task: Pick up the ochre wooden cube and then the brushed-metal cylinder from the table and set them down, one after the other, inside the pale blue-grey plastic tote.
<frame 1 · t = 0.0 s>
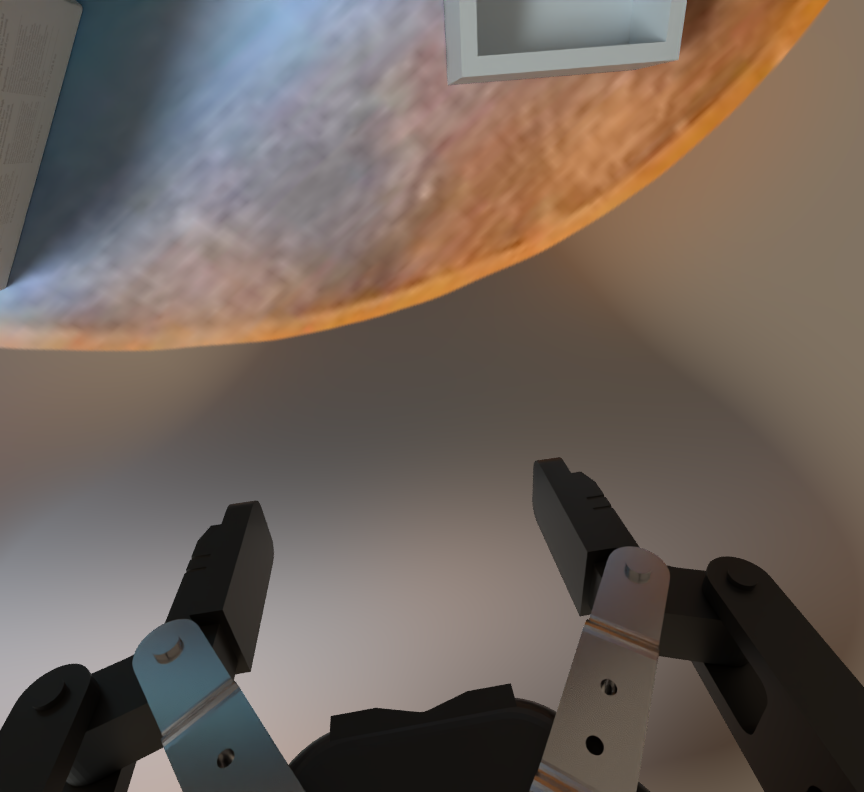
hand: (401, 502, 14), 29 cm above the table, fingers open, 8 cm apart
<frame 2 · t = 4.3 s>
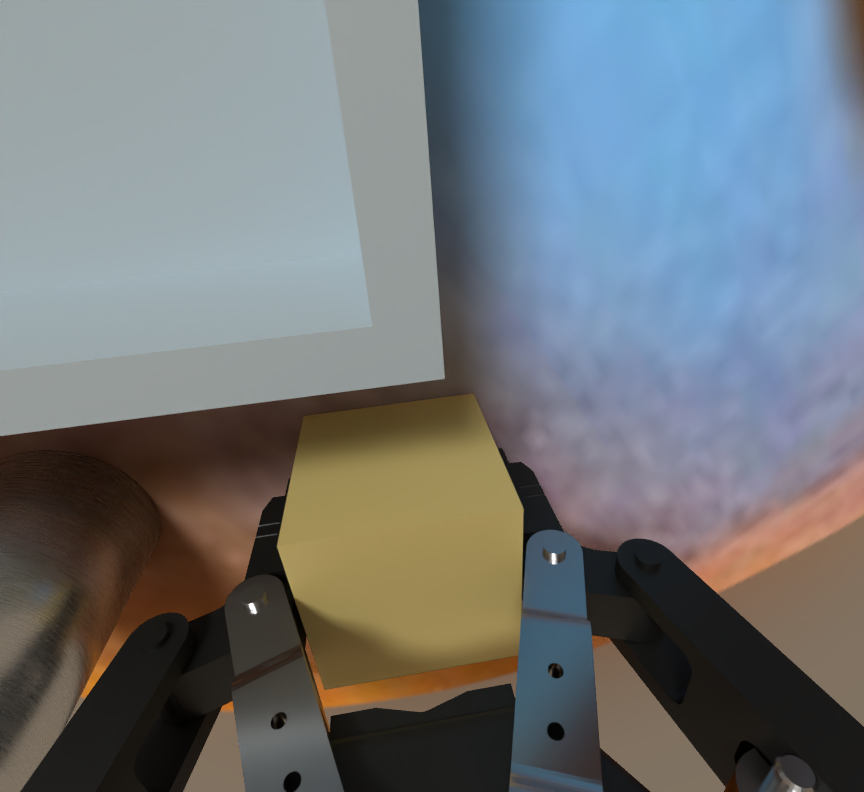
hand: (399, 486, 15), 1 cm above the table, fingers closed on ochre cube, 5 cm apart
ochre cube: (399, 472, 15), on the table, touching gripper
metal cylinder: (70, 518, 14), on the table
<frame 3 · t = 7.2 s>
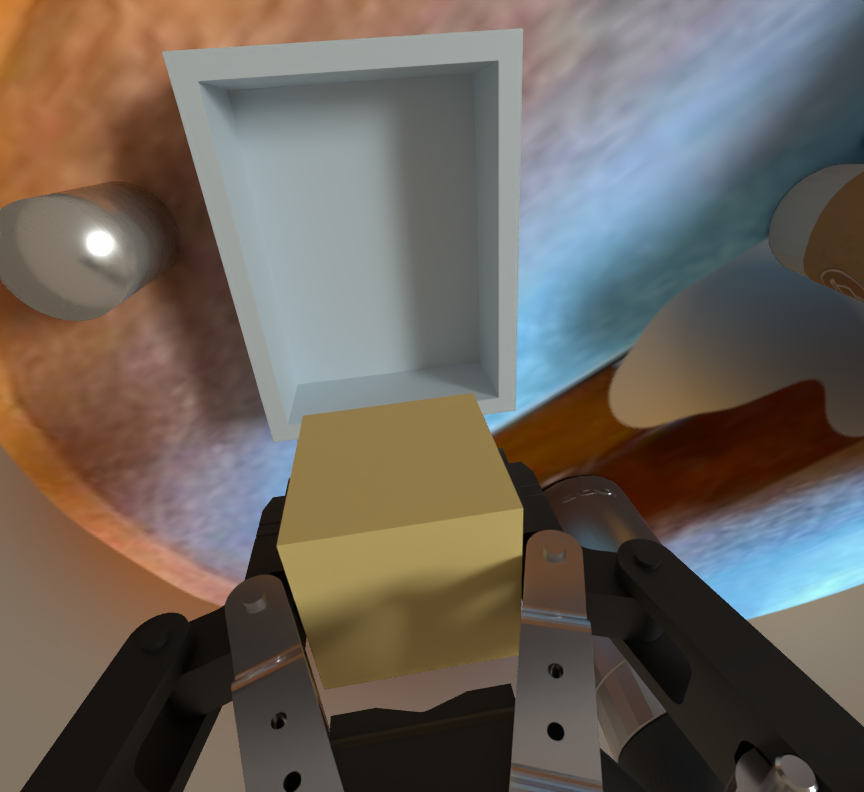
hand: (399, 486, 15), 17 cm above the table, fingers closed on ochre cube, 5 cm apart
ochre cube: (398, 471, 15), point 17 cm above the table, touching gripper
tote: (374, 246, 28), on the table
coffee cup: (809, 218, 31), on the table
metal cylinder: (129, 232, 26), on the table
when the fingers open (3 cm above the table, at t = 10.3 s): ochre cube drops 2 cm, resting on tote.
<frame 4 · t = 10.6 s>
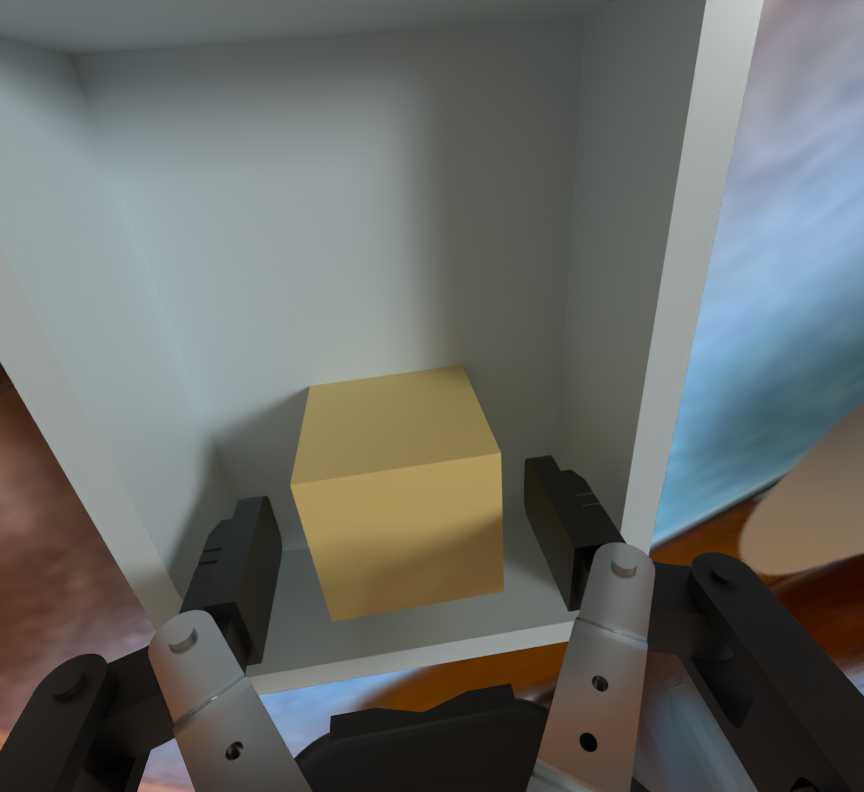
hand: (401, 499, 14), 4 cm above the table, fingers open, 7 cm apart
ochre cube: (396, 438, 17), point 1 cm above the table, touching tote
tote: (381, 341, 16), on the table
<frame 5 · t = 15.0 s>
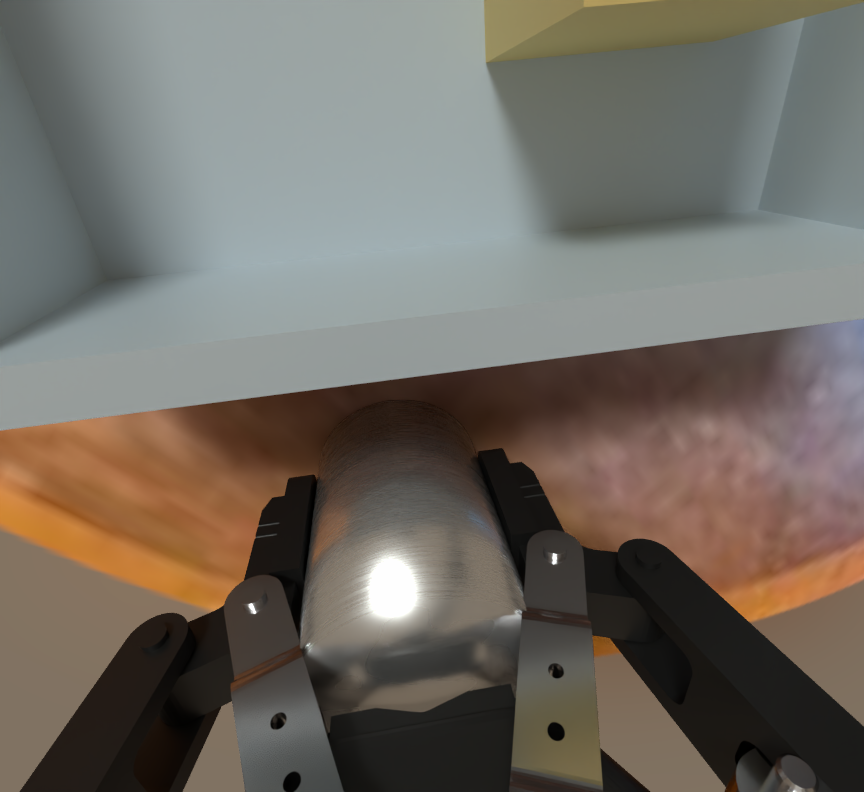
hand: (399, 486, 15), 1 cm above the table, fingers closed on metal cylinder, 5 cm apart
metal cylinder: (398, 467, 15), on the table, touching gripper
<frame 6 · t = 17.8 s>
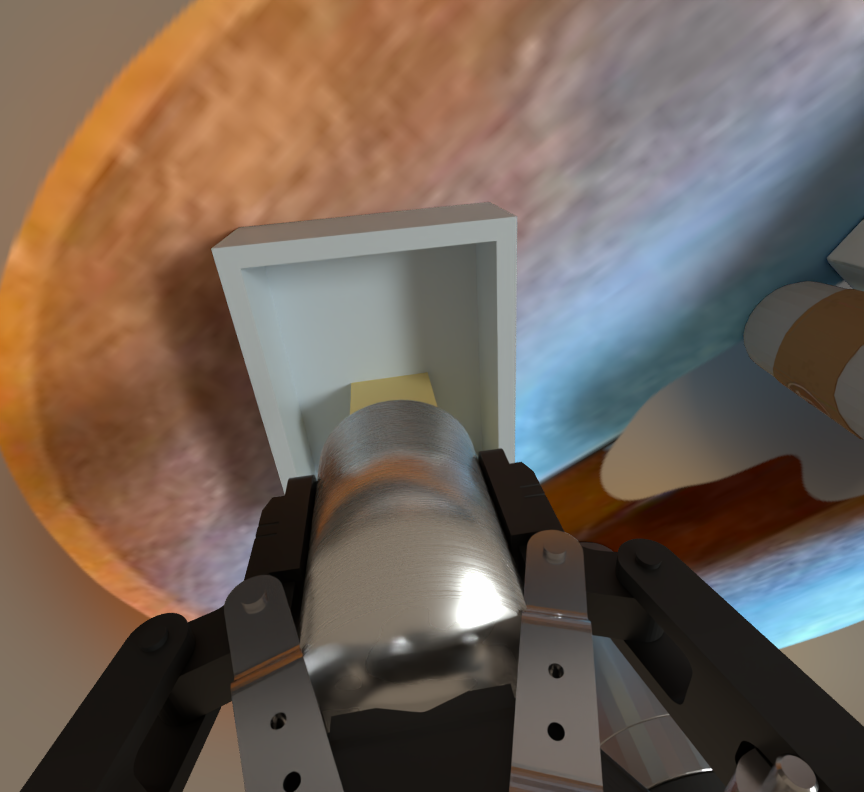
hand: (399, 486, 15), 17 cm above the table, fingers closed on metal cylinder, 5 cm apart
ochre cube: (394, 410, 32), point 1 cm above the table, touching tote
tote: (386, 360, 31), on the table
coffee cup: (780, 322, 34), on the table
metal cylinder: (398, 467, 15), point 16 cm above the table, touching gripper
when the fingers open (4 cm above the table, at t = 20.6 s): metal cylinder drops 2 cm, resting on tote.
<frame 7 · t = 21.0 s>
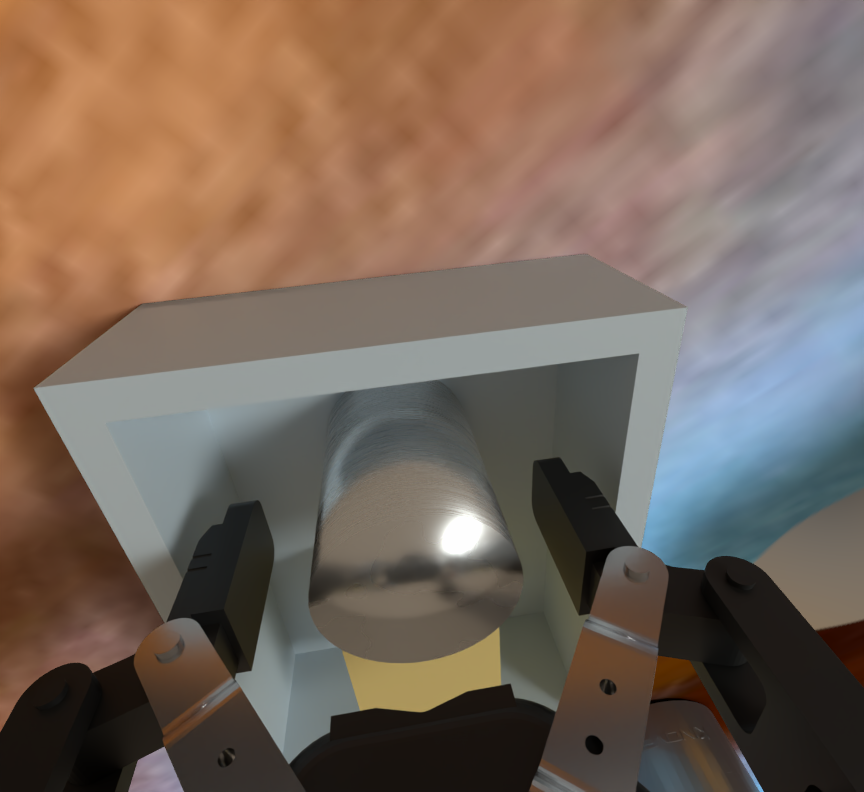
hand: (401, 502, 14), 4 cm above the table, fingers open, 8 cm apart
ochre cube: (414, 566, 21), point 1 cm above the table, touching tote
tote: (403, 496, 19), on the table
metal cylinder: (398, 432, 17), point 1 cm above the table, touching tote
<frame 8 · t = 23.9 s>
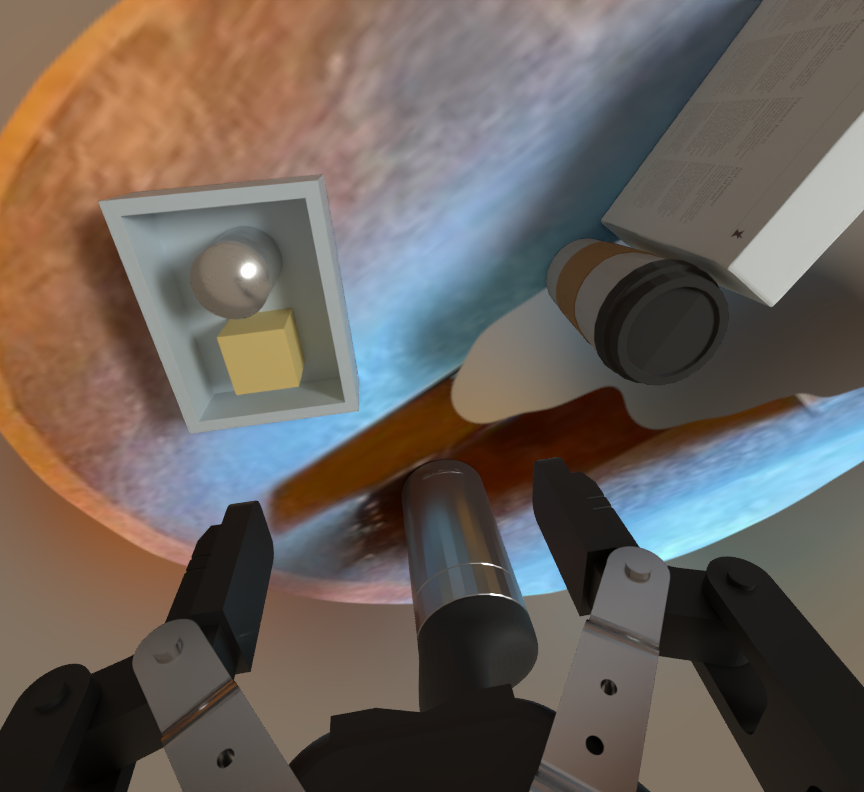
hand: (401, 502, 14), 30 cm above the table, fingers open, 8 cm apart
skincare box: (705, 123, 39), on the table
ochre cube: (270, 338, 41), point 1 cm above the table, touching tote
tote: (260, 298, 40), on the table
coffee cup: (577, 272, 43), on the table
metal cylinder: (249, 258, 38), point 1 cm above the table, touching tote
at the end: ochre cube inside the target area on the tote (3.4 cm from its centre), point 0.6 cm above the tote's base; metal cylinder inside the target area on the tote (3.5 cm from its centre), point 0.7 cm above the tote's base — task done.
